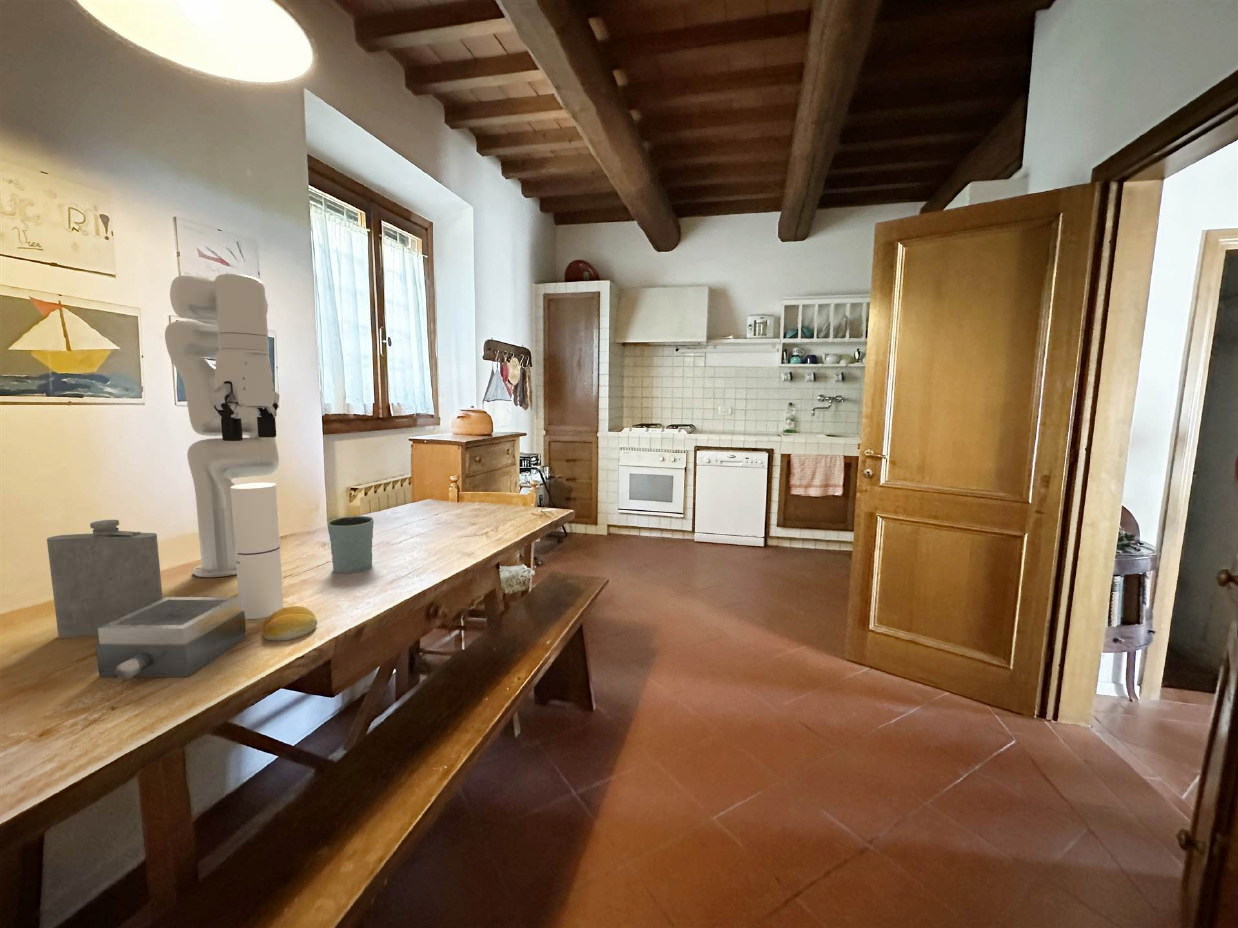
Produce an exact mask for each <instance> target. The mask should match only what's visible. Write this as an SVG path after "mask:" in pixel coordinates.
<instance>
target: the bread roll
mask: <svg viewBox="0 0 1238 928" xmlns="http://www.w3.org/2000/svg"><path fill="white" fill-rule="evenodd" d="M317 625H318V619H317V617H316V615H315V613H314V612H313V611H312V610H310V609H309V608H308V607H304V606H300V605H299V606H298V605H293V606H292V605H290V606H286V607H285V606H284V608H282V609H279V610H277V611H276V612H274V613H273V614H272V615H270V616H269V617H266V619H265V621H264V623H263V630H262V636H263V637H264V639H266V640H267V639H268V641H288V640H289V639H290V640H295V639H297V637H298V638H301V637H304V636H305V635H307V634H309V633H311V632H313V631H314V630H315V628H316V627H317ZM312 630H313V631H312ZM310 631H311V632H310ZM308 632H309V633H308ZM304 634H305V635H304ZM300 636H301V637H300ZM294 638H295V639H294Z"/></svg>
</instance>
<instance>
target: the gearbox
mask: <svg viewBox="0 0 1238 928" xmlns="http://www.w3.org/2000/svg"><path fill="white" fill-rule="evenodd" d="M246 628H247V627H246V619H245V612H244V611H241V598H240V597H239V596H238V597H237V596H236V597H235V596H234V597H232V596H231V597H228V596H227V597H226V596H225V597H222V596H221V597H220V596H219V597H217V596H216V597H215V596H214V597H212V596H208V597H205V596H203V597H202V596H198V597H197V596H195V597H194V596H189V597H188V596H165V597H163V599H161V600H159V601H157V602H155V603H152V604H150V605H148V606H146V607H144V608H141V609H139V610H137V611H135V612H133V613H130V614H128V615H126V616H124V617H122V618H119V619H117V620H115V621H113V622H111V623H108V624H106V625H104V626H102V627H100V628H98V634H99V635H98V641H99V642H98V643H97V644H96V645H95V650H96V659H97V660H96V661H97V670H98V677H99V678H119V679H121V680H124V681H125V680H130V679H131V678H189V677H191V676H192V675H194V674H195V673H196V672H198V671H200V670H202V669H203V668H205V667H206V666H207V665H209V664H210V663H212V662H213V661H215V660H216V659H217V658H220V657H221V656H222V655H224V654H225V653H226V652H228V651H230V650H231V649H233V648H234V647H236V646H237V645H239V644H240V643H241V642H243V641H244V640H246V639H247V629H246Z"/></svg>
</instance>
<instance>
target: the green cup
mask: <svg viewBox="0 0 1238 928" xmlns="http://www.w3.org/2000/svg"><path fill="white" fill-rule="evenodd" d="M374 520H375V519H374V518H373V517H371V516H366V515H365V516H364V515H351V516H342V517H336V518H333V519H330V520H328V521H327V532H328V535H329V541H330V550H331V551H330V552H331V561H332V568H333V571H334V572H335V573H337V574H353V573H360V572H364V571H366V570H369V569H370V568H372V566H373V552H372V551H373V538H374Z"/></svg>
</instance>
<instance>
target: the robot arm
mask: <svg viewBox="0 0 1238 928" xmlns="http://www.w3.org/2000/svg"><path fill="white" fill-rule="evenodd" d="M169 289H170V290H169V299H170V304H171V307H172V309H173V311H174V313H175V314H176V315H177V317H179V318H181V319H182V318H183V319H186V320H176V321H173V322H170V323H169V324H167V325H166V328H165V330H164V341H165V345H166V349H167V352H168V355H169V358H170V360H171V362H172V363H173V365H174V367H175V369H176V371H177V372H178V374H179V375H180V378H181V380H182V382H183V386H184V391H185V396H186V397H185V398H186V404H187V405H186V406H187V409H188V416H189V417H188V418H189V421H190V422H189V423H190V425H191V428H192V429H193V431H194V432H195V433H196V434H198V435H201V436H207V437H213V436H214V437H217V438H207V439H206V438H205V439H201V440H198V441H195V442H194V443H192V444H190V446H189V447H188V450H187V454H186V455H187V463H188V465H189V466H188V467H189V469H190V473H191V478H192V481H193V482H192V483H193V487H194V492H195V493H194V494H195V501H196V504H195V505H196V514H197V526H198V539H199V540H198V541H199V549H200V551H199V552H200V563H201V564H199V565H197V566H195V567H194V568H193V575H195V576H196V577H199V578H220V577H221V578H222V577H228V576H235V575H237V569H236V556H235V542H234V529H233V515H232V502H231V489H230V487H231V486H234V485H236V484H235V483H234V482H233V481H232V480H233V479H239V478H249V477H250V478H251V477H261V476H268V475H272V474H274V473H275V472H276V471H277V470H278V468H279V464H280V461H279V460H280V459H279V451H278V445H277V441H276V437H277V425H276V422H277V421H276V417H277V415H278V413H277V410H278V408H279V405H278V404H279V401H280V394H279V393H277V391H275V389H274V388H275V386H274V378H273V372H272V366H271V362H270V361H271V360H270V357H269V356H270V345H269V330H268V328H269V327H268V317H267V315H268V309H269V308H268V306H269V305H268V300H267V296H266V288H265V285H264V283H263V282H262V281H261V280H260V279H258V278H256V277H253V276H250V275H245V274H239V273H238V274H237V273H222V274H218V275H217V276H216V277H215V278H210V277H209V278H208V277H202V276H193V275H179V276H176V277H175V278H174V279H173V280H172V281H171V284H170V288H169ZM187 319H188V320H187ZM205 358H208V359H209V358H210V359H215V365H213V364H212V363H211V362H209V361H207V360H206V359H205ZM243 436H248V437H243ZM218 437H219V438H218Z"/></svg>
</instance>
